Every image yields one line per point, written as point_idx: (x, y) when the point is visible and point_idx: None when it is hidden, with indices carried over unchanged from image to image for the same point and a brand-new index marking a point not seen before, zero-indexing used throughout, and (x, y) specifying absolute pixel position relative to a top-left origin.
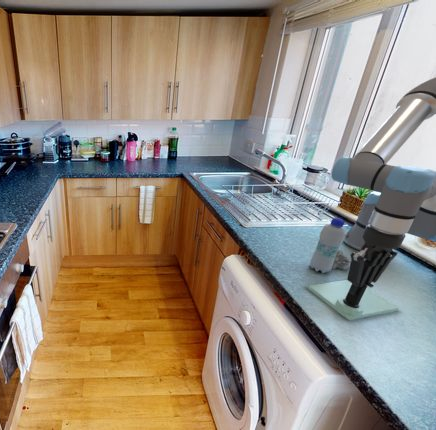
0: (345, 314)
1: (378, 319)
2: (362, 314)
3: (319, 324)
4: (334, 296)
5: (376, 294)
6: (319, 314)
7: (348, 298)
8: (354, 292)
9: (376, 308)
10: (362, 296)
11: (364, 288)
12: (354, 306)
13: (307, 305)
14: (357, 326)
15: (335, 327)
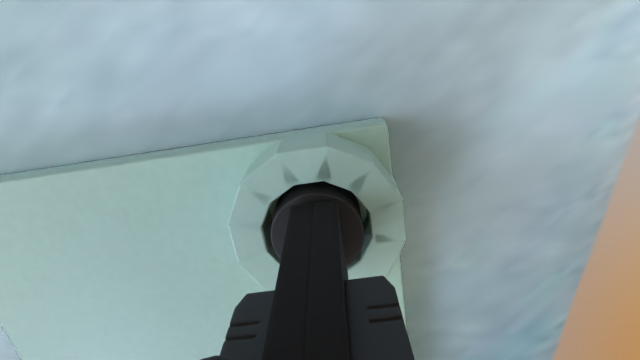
0: (390, 157)
1: (151, 115)
2: (266, 145)
3: (631, 94)
4: None
5: (6, 314)
6: (538, 182)
7: (345, 267)
8: (398, 301)
9: (107, 196)
10: (122, 303)
11: (302, 344)
12: (327, 196)
13: (542, 259)
14: (366, 59)
15: (541, 59)
